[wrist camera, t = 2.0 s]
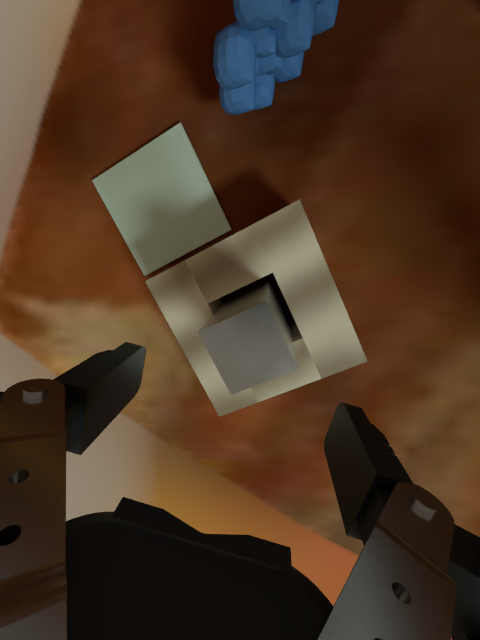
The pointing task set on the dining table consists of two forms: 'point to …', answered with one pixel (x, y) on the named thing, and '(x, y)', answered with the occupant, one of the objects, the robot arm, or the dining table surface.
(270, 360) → the peg
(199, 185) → the mat
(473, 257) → the dining table surface
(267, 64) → the grapes
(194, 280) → the holder
